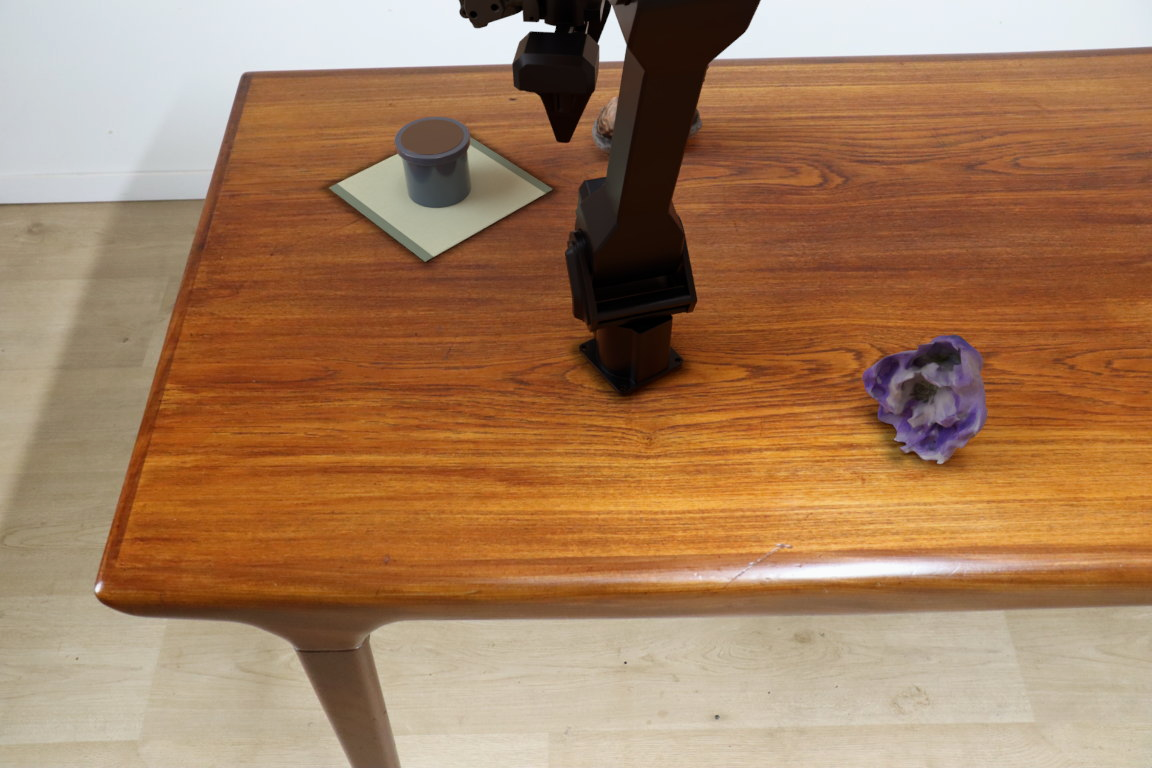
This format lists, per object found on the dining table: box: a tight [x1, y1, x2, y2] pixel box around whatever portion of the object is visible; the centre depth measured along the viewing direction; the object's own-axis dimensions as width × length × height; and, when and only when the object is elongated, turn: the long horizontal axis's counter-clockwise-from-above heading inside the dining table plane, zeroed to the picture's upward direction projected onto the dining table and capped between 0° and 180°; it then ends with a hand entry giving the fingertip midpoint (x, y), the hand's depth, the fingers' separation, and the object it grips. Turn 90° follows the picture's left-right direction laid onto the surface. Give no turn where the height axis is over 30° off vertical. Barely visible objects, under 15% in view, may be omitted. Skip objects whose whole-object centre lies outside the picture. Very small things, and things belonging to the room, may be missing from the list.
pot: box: [394, 116, 471, 208], centre depth 93 cm, size 7×7×6 cm
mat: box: [328, 136, 554, 263], centre depth 95 cm, size 16×16×1 cm
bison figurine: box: [591, 65, 710, 155], centre depth 97 cm, size 12×7×10 cm, turn 106°
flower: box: [861, 334, 988, 465], centre depth 72 cm, size 9×9×10 cm
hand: (569, 112), depth 83 cm, fingers open, 9 cm apart
